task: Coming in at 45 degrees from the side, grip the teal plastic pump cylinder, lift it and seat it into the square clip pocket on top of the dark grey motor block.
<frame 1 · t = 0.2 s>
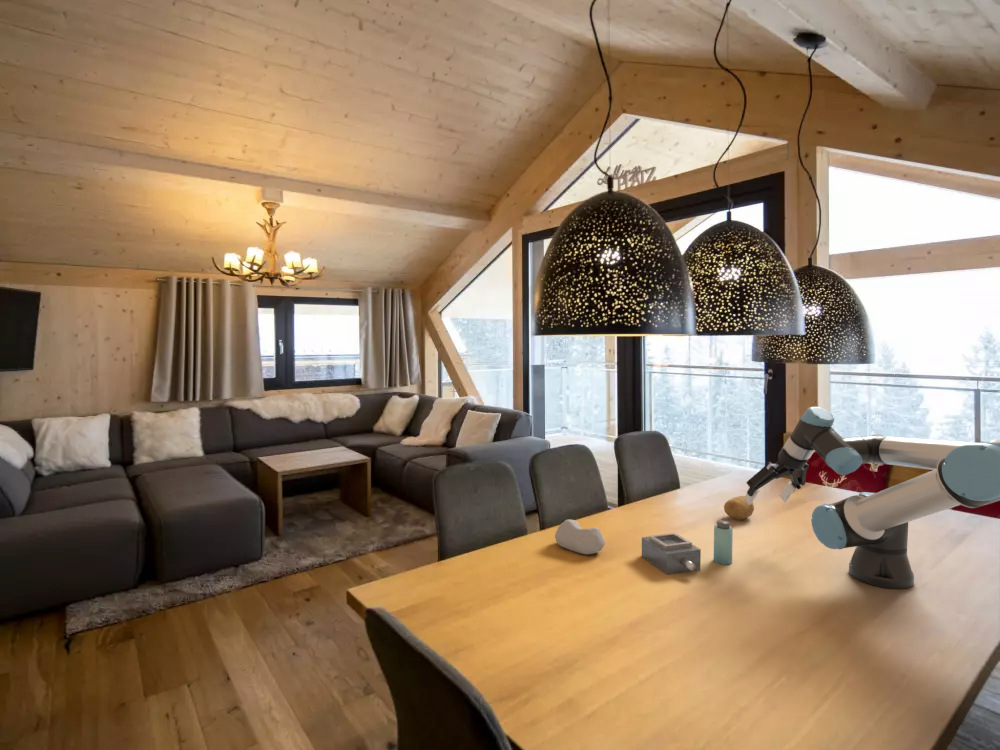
hand: (765, 500, 182), 15 cm above the table, fingers open, 13 cm apart
decorative stone: (580, 549, 184), on the table
motor: (670, 562, 171), on the table
pump: (722, 561, 172), on the table
potato: (739, 518, 211), on the table
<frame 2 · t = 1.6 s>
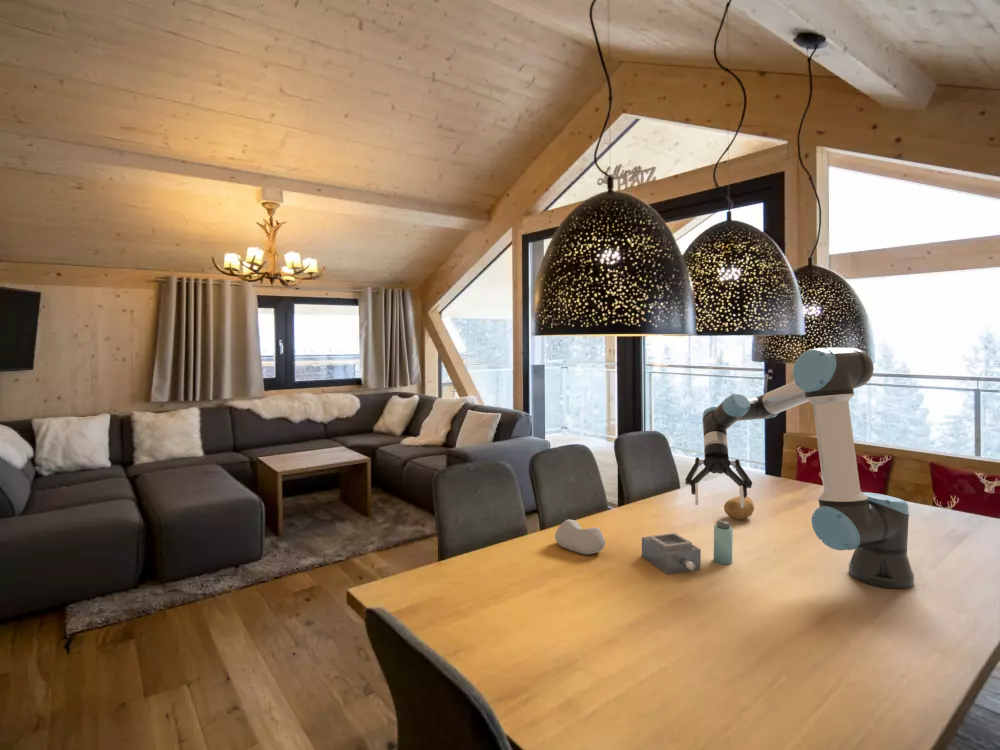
hand: (719, 504, 181), 14 cm above the table, fingers open, 13 cm apart
nothing on the table moved.
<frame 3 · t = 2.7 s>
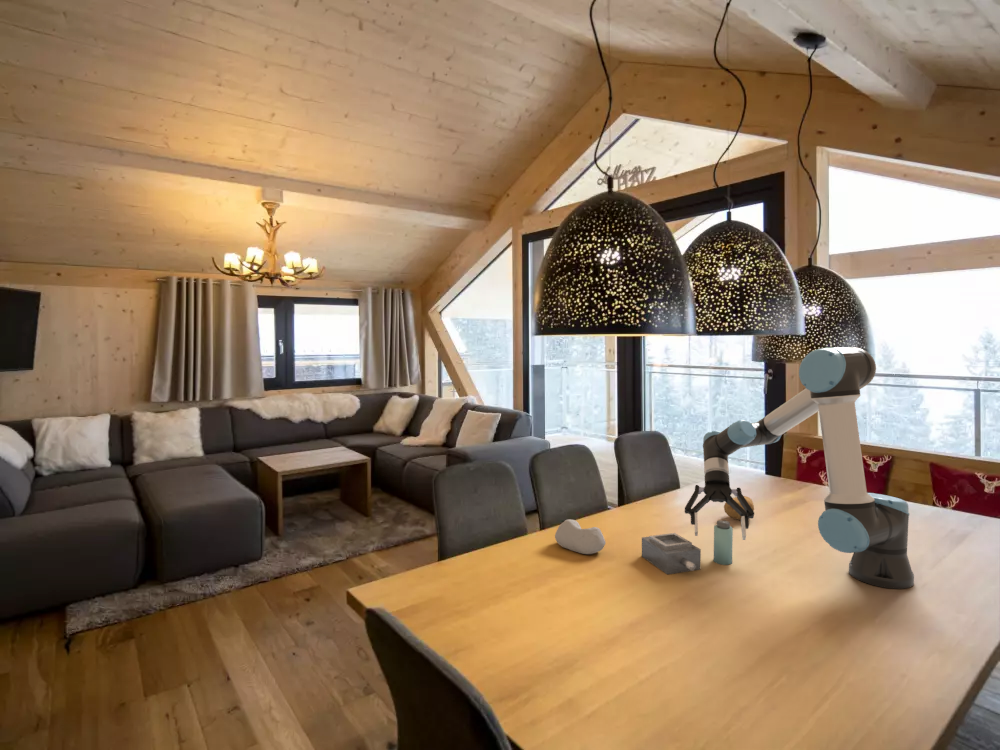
hand: (720, 536, 173), 7 cm above the table, fingers open, 13 cm apart
nothing on the table moved.
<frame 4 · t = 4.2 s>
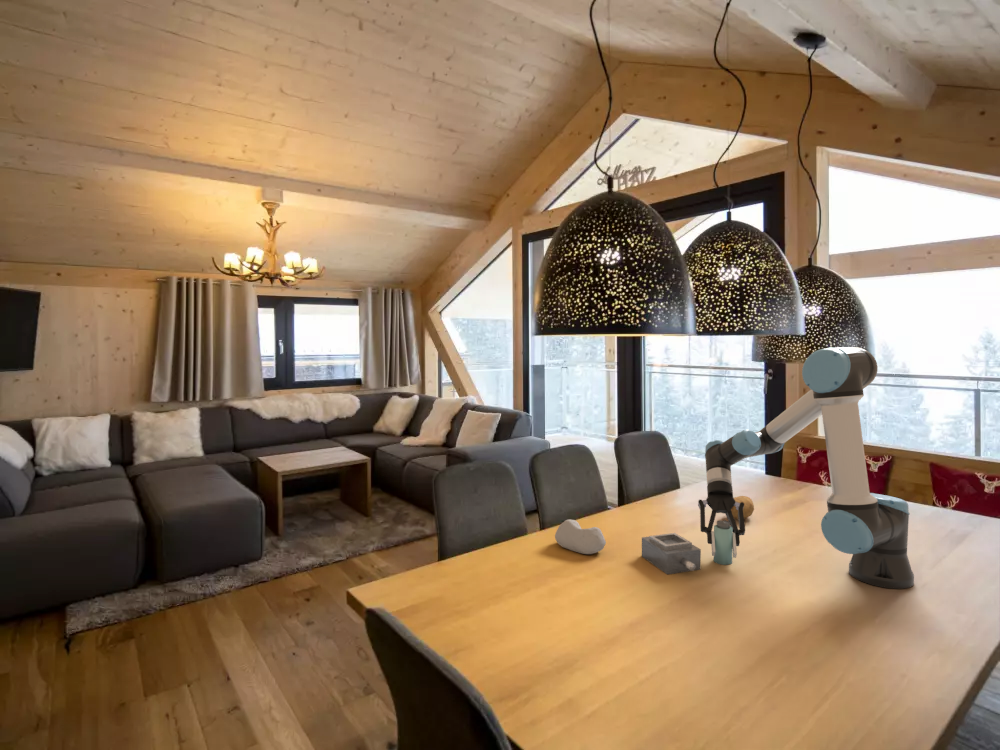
hand: (724, 554, 168), 4 cm above the table, fingers closed on pump, 5 cm apart
pump: (722, 561, 172), on the table, touching gripper
everything else where it was.
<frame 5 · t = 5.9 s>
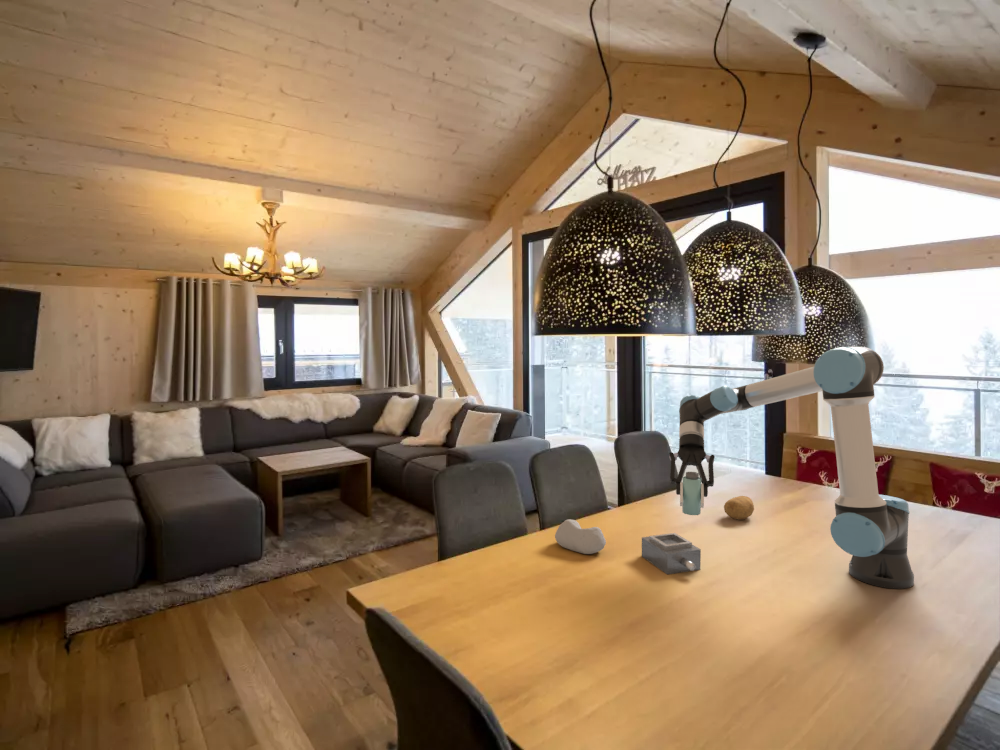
hand: (691, 504, 168), 18 cm above the table, fingers closed on pump, 5 cm apart
pump: (691, 512, 172), point 15 cm above the table, touching gripper
everything else where it was.
when the fingers open (11 cm above the table, at t = 7.7 s): pump drops 2 cm, resting on motor.
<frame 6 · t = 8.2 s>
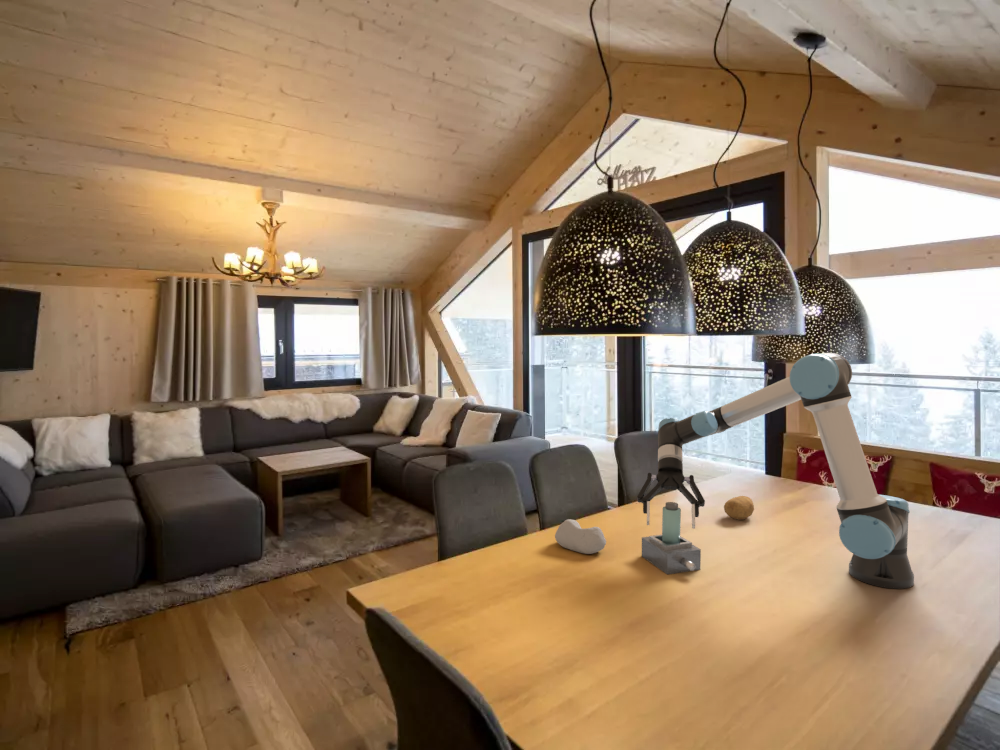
hand: (670, 524, 168), 12 cm above the table, fingers open, 12 cm apart
pump: (670, 543, 171), point 6 cm above the table, touching motor
everything else where it was.
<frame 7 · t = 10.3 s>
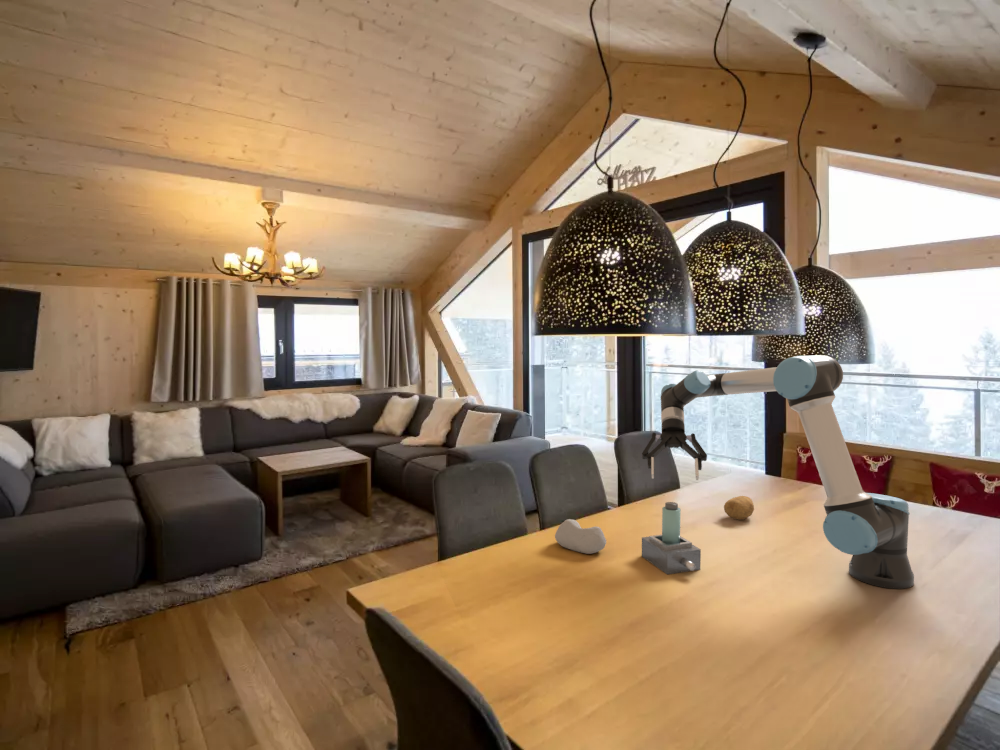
hand: (674, 477, 182), 23 cm above the table, fingers open, 13 cm apart
nothing on the table moved.
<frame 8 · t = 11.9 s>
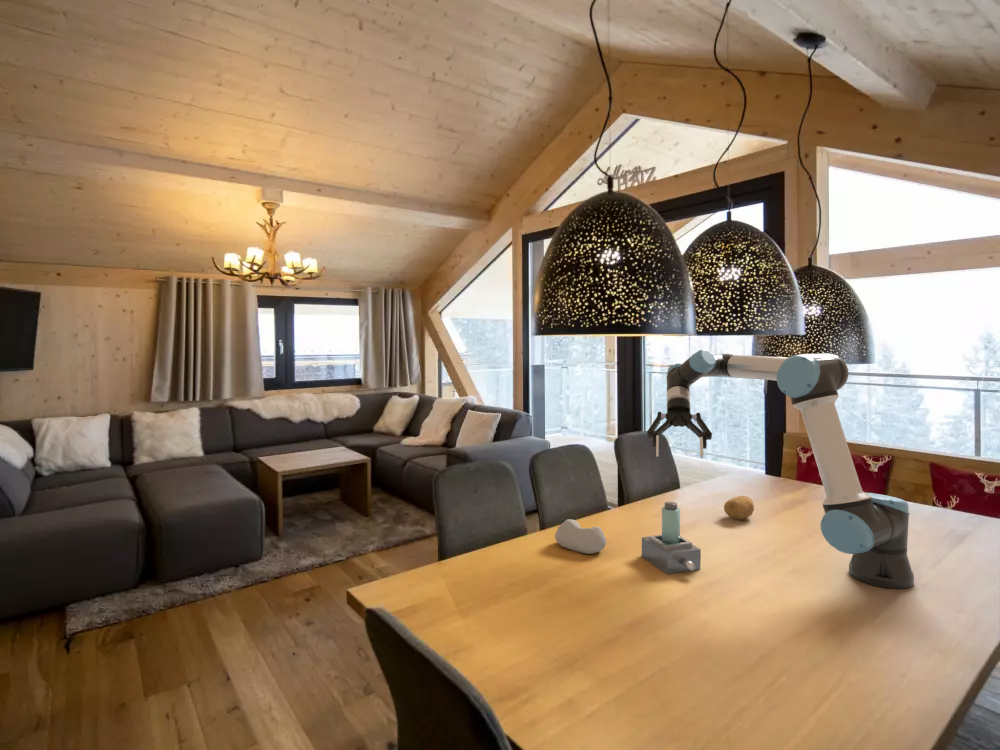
hand: (679, 455, 182), 30 cm above the table, fingers open, 13 cm apart
nothing on the table moved.
at the end: pump 0.2 cm off-centre on the motor, point 6.0 cm above the motor's base; pump tilted 1°; the gripper is holding nothing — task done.
